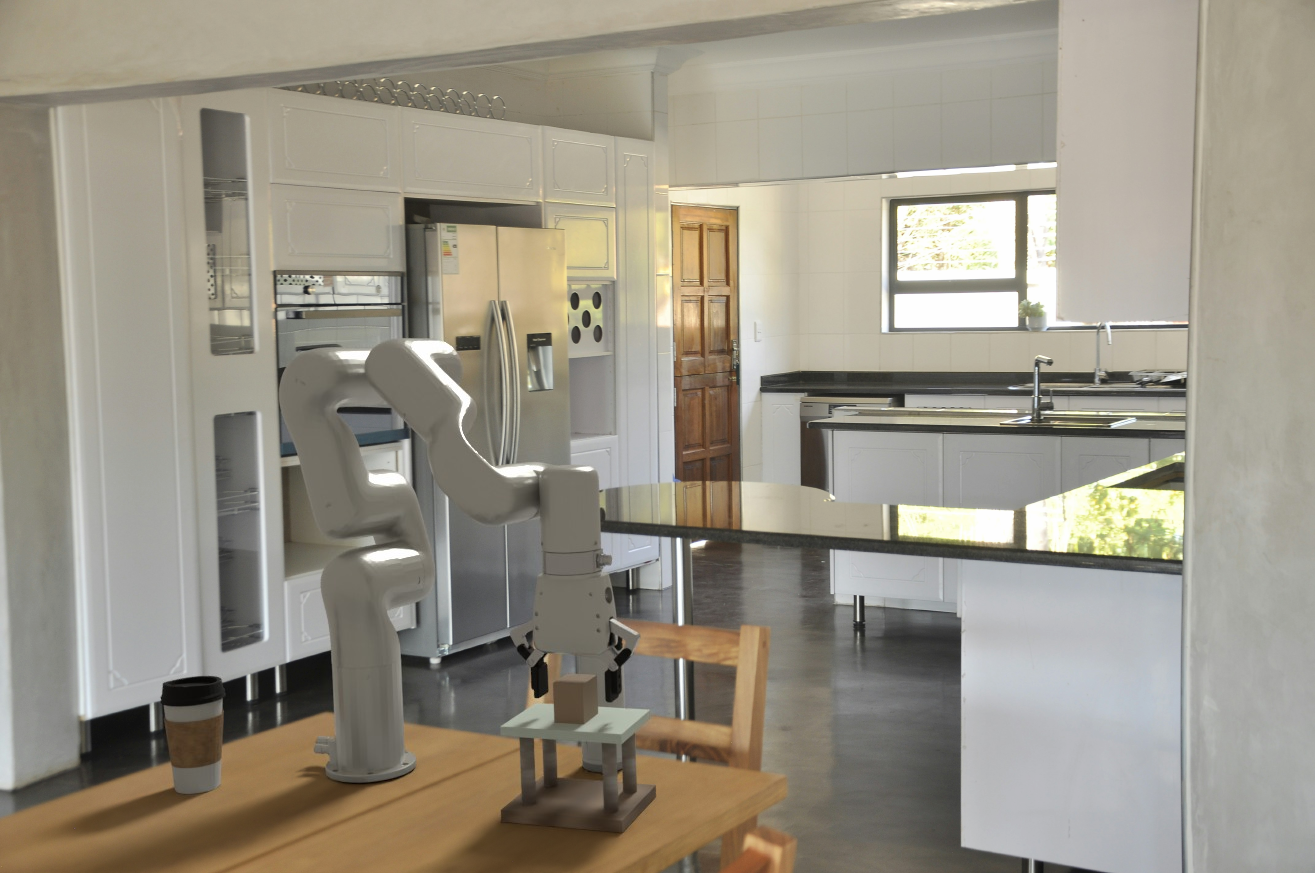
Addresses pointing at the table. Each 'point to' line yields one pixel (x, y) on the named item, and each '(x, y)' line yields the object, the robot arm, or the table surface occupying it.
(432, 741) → the table surface
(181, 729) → the coffee cup
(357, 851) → the table surface
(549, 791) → the peg stand
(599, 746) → the travel mug
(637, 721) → the shelf board
